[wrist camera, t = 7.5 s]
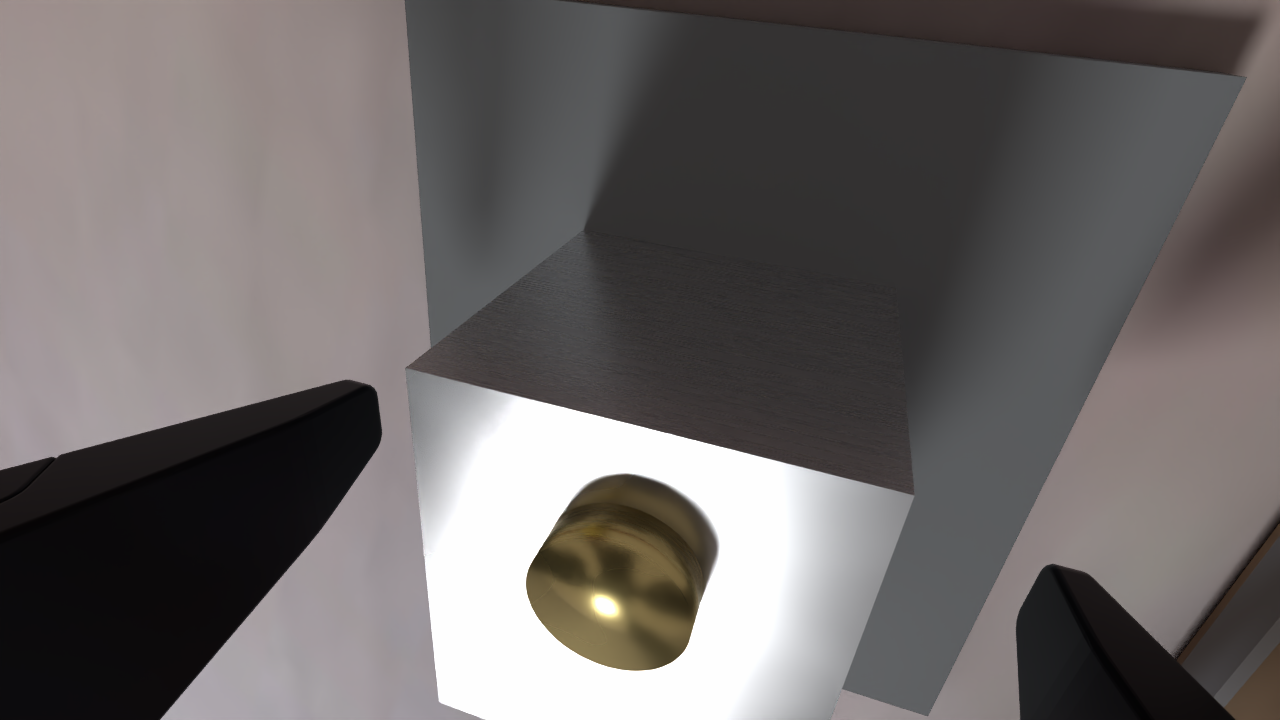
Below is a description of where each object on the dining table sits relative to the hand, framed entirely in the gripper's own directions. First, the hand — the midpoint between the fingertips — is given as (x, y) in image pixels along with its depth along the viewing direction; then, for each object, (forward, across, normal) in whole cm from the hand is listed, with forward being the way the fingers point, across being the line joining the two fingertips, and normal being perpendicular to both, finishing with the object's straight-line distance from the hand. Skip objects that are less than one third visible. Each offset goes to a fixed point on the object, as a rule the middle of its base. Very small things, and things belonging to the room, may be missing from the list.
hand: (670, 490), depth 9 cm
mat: (+3, 0, 0) cm, 3 cm away
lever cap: (+2, 0, 0) cm, 2 cm away
